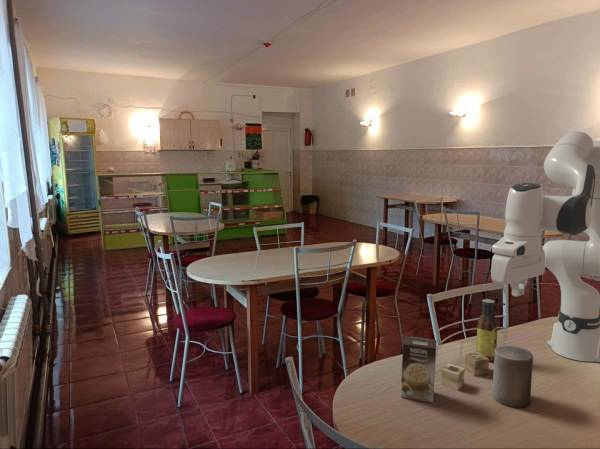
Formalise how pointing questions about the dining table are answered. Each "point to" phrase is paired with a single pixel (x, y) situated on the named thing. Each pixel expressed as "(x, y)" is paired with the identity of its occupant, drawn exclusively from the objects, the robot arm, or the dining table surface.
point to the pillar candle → (512, 376)
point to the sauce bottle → (487, 330)
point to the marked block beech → (452, 376)
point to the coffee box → (418, 368)
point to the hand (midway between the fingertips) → (517, 295)
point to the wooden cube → (476, 364)
